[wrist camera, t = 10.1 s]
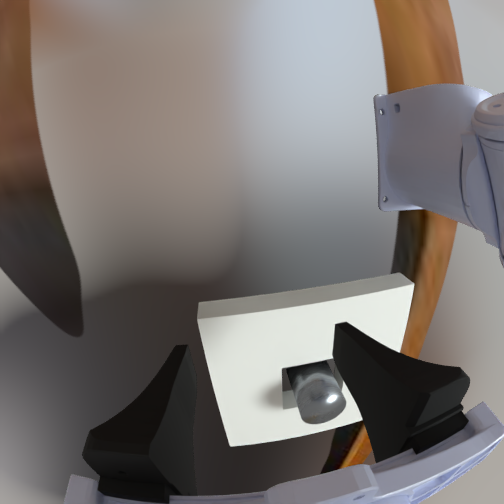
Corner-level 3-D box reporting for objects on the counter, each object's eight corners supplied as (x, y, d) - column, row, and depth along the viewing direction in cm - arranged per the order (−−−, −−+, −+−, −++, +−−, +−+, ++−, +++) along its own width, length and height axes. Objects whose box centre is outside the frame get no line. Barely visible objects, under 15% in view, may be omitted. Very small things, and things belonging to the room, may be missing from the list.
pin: (278, 366, 26) (292, 413, 20) (313, 343, 25) (335, 388, 19) (299, 385, 27) (314, 429, 21) (331, 365, 26) (353, 407, 21)
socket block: (198, 302, 22) (197, 319, 20) (399, 272, 24) (414, 283, 21) (228, 430, 28) (230, 446, 26) (371, 400, 30) (379, 414, 27)
